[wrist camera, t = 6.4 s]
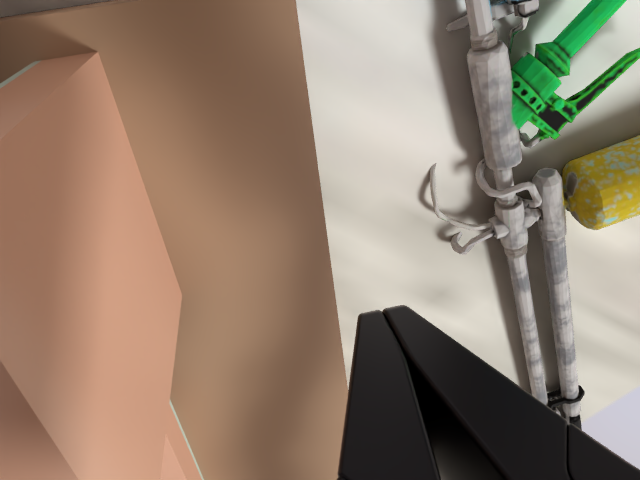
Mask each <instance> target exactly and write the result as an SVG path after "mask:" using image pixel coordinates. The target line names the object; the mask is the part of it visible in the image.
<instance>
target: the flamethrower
mask: <svg viewBox="0 0 640 480" xmlns="http://www.w3.org/2000/svg"><path fill="white" fill-rule="evenodd" d="M625 2H626V0H592V1H591V2H590V3H589V4H588V5H587V6H586V7H585V8H584V9H583V10H582V11H581V12H580V13H579V14H578V15H577V16H576V17H575V19H574V20H573V21H572V22H571V23H570V24H569V25H568V26H567V27H566V28H565V29H564V30H563V31H562V32H561V33H560V34H559V35H558V36H557V38H556V39H555V40H554V41H553V42H548V43H541V44H536V47H535V57H534V56H532V55H531V54H529V53H528V52H526V53H525V54H524V55H523V56H522V57H521V59H520V60H519V61H518V62H517V63H516V64H515V65H514V66H513V67H512V68H511V67H510V61H509V54H508V48H507V46H506V45H505V43H504V42H503V41H499V40H498V37H497V30H496V28H494V26H493V20H496V19H499V18H502V17H504V16H507V15H509V14H512V13H515V16H518V17H521V18H522V20H521V23H520V25H518V26H516V27H515V28H513V29H511V31H510V33H509V50H510V53H511V48H512V43H513V37H514V35H515V34H517V33H518V32H519V31H522V30H524V29H525V28H526V26H527V23H528V19H529V16H531V15H533V14H535V13H536V11H538V9H539V0H504V1H501V2H499V3H496V4H492V5H490V0H465V3H466V9H467V15H465V16H463V17H461V18H459V19H457V20H455V21H453V22H451V23H449V24H447V29H446V30H448V31H449V32H450V31H453V30H457V29H460V28H463V27H467V26H470V32H471V36H470V41H471V47H472V48H471V49H470V50H469V52H468V54H467V63H468V69H469V75H470V80H471V86H472V91H473V96H474V102H475V107H476V112H477V118H478V123H479V128H480V134H481V139H482V144H483V150H484V155H485V158H484V159H483V160H481V161H480V162H479V163H478V166H477V170H476V174H475V177H476V180H477V183H478V185H479V186H480V188H481V189H482V190H483V191H484V192H485V193H486V194H487V195H488V196H492V197H497V198H496V199H497V200H496V202H495V203H494V206H495V213H494V215H493V216H495V215H496V216H495V217H493V218H490V219H489V220H488V221H489V223H485V224H480V225H474V224H466V223H462V222H459V221H456V220H453V219H451V218H449V217H447V216H446V215H444V214H443V213H442V212H441V211H440V210H439V206H438V200H437V193H436V182H435V166H436V163H435V164H434V165H433V166H432V167H431V169H430V187H431V196H432V201H433V206H434V211H435V213H436V215H437V216H438V218H440V219H443V220H445V221H447V222H449V223H451V224H453V225H455V226H457V227H460V228H464V229H469V230H482V229H486V228H490V230H488V231H486V232H484V233H482V234H480V235H478V236H476V237H475V238H473V239H471V240H470V241H469V242H468V243H467V244H466V245H465V246H464V247H461V246H460V245H459V244H458V241H459V239H460V238H461V236H462V233H461V232H459V233H457V234H455V235H454V236H453V238H452V240H451V246H452V248H453V250H454V251H456V252H458V253H459V254H467V253H468V252H469V251H470V250H471V249H472V247H473V246H474V245H475V244H477V243H479V242H481V241H483V240H486V239H488V238H490V237H492V236H495V237H496V238H497V239H499V238H500V240H501V244H502V245H503V246H504V251H505V254H506V255H507V259H508V264H509V269H510V275H511V280H512V286H513V292H514V298H515V303H516V309H517V314H518V320H519V325H520V330H521V335H522V341H523V346H524V352H525V358H526V364H527V369H528V375H529V380H530V386H531V391H532V396H534V397H535V398H537V399H538V400H539V401H541V402H542V403H544V404H545V405H546V406H548V407H549V408H551V409H552V410H553V411H555V412H556V413H558V414H559V415H560V416H561V414H560V412H559V411H558V409H557V408H556V406H559V405H563V411H564V412H565V417H566V420H567V422H568V424H573V425H575V426H576V427H578V428H579V429H580V430H582V429H581V420H580V414H579V413H580V411H581V408H580V400H581V399H582V397H583V396H584V390H583V389H582V387H581V386H580V385H578V376H577V365H576V354H575V346H574V332H573V322H572V312H571V301H570V288H569V281H568V271H567V258H566V246H565V235H566V216H565V209H567V211H570V212H571V214H572V216H573V217H574V218H575V219H576V220H577V221H578V222H579V223H580V224H582V225H583V226H585V227H586V228H589V229H593V230H598V229H601V228H604V227H606V226H609V225H612V224H615V223H618V222H621V221H623V220H626V219H629V218H632V217H635V216H638V215H640V135H639V136H636V137H633V138H631V139H628V140H625V141H622V142H620V143H617V144H614V145H612V146H609V147H606V148H603V149H601V150H598V151H595V152H593V153H590V154H587V155H585V156H582V157H579V158H577V159H574V160H571V161H569V162H568V163H567V164H566V165H565V167H564V168H563V172H562V178H561V176H560V174H559V173H558V171H557V170H556V169H551V168H543V169H540V170H538V172H537V173H536V175H535V176H534V178H533V180H532V183H531V182H529V181H528V182H524V183H520V184H517V185H514V180H513V173H512V167H515V166H517V165H518V164H519V163H521V161H522V153H521V145H520V141H522V143H523V145H524V146H525V147H529V148H532V147H533V146H534V145H536V144H537V143H539V142H540V141H541V140H543V139H545V138H549V136H550V137H551V138H553V139H554V140H555V139H556V138H557V137H559V136H560V134H559V133H558V132H559V131H560V130H561V129H562V128H563V127H564V126H565V124H566V123H567V122H570V123H572V122H573V120H574V118H575V117H576V115H578V114H579V113H580V112H581V111H582V110H583V109H584V108H586V107H587V106H588V105H589V104H590V103H591V102H592V101H593V100H594V99H595V98H597V97H598V96H599V95H600V94H601V93H602V92H603V91H604V90H605V89H606V88H607V87H608V86H609V85H610V84H612V83H613V82H614V81H615V80H616V79H617V78H618V77H619V76H620V75H621V74H622V73H624V72H625V71H626V70H627V69H628V68H629V67H630V66H631V65H632V64H634V63H635V62H636V61H637V60H638V59H639V58H640V48H638V49H636V50H634V51H631V52H629V53H627V54H626V55H624V56H623V57H622V58H621V59H620V60H618V61H617V62H616V63H615V64H614V65H612V66H611V67H610V68H609V69H608V70H606V71H605V72H604V73H603V74H602V75H600V76H599V77H598V78H597V79H596V80H594V81H593V82H592V83H591V84H590V85H588V86H587V87H586V88H585V89H583V90H582V91H580V92H578V93H576V94H575V95H573V96H571V97H569V98H568V99H566V100H564V99H562V98H561V97H559V96H558V95H556V94H555V93H554V91H555V90H556V89H557V88H558V87H559V86H560V85H561V81H560V80H559V79H558V78H557V77H561V76H567V75H569V74H570V58H571V57H572V56H573V55H574V54H575V53H576V52H577V51H578V50H579V49H580V48H581V47H582V46H583V45H584V44H585V43H586V42H587V41H588V40H589V39H590V38H591V37H592V36H593V35H594V34H595V33H596V32H597V31H598V30H599V28H600V27H601V26H602V25H603V24H604V23H605V22H606V21H607V20H608V19H609V18H610V17H611V16H612V15H613V14H614V13H615V12H616V11H617V10H618V9H619V8H620V7H621V6H622V5H623V4H624V3H625ZM527 120H528V121H530V122H531V123H532V124H534V125H535V126H537V127H538V128H539V130H538V133H537V135H535V136H534V137H533V138H532V139H530V138H529V137H528V135H527V134H526V133H519V129H520V128H521V127H522V126H523V124H524V123H525V122H526V121H527ZM487 166H488V167H489V168H490V169H493V172H494V177H495V182H496V188H497V190H494V189H492V188H490V187H489V185H488V183H487V181H486V180H485V177H484V169H485V168H486V167H487ZM525 189H526V190H528V191H529V193H530V195H531V197H532V199H533V200H529V199H522V198H521V197H519V196H517V195H516V193H517V192H520V191H523V190H525ZM536 221H537V222H538V231H539V235H540V237H541V238H542V245H543V253H544V261H545V269H546V277H547V285H548V293H549V301H550V309H551V317H552V325H553V332H554V340H555V348H556V356H557V363H558V371H559V381H560V388H559V389H558V390H556V391H553V392H550V393H547V392H546V386H545V380H544V373H543V367H542V360H541V353H540V346H539V340H538V334H537V327H536V321H535V314H534V308H533V301H532V295H531V288H530V282H529V275H528V269H527V262H526V254H527V250H528V249H527V243H528V232H527V228H529V227H531V226H532V225H533V224H534V223H535V222H536ZM559 396H560V397H561V398H556V397H559ZM551 398H552V399H554V401H550V399H551Z"/></svg>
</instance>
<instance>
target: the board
mask: <svg viewBox="0 0 640 480" xmlns="http://www.w3.org/2000/svg"><path fill="white" fill-rule="evenodd" d="M92 52H98V53H99V56H100V59H101V62H102V65H103V68H104V71H105V73H106V76H107V79H108V82H109V85H110V88H111V91H112V94H113V97H114V99H115V102H116V105H117V108H118V111H119V114H120V117H121V120H122V123H123V126H124V128H125V131H126V134H127V137H128V140H129V143H130V146H131V149H132V152H133V154H134V157H135V160H136V163H137V166H138V169H139V172H140V175H141V178H142V180H143V183H144V186H145V189H146V192H147V195H148V198H149V201H150V204H151V207H152V209H153V212H154V215H155V218H156V221H157V224H158V227H159V230H160V233H161V235H162V238H163V241H164V244H165V247H166V250H167V253H168V256H169V259H170V261H171V264H172V267H173V270H174V273H175V276H176V279H177V282H178V285H179V288H180V290H181V293H182V301H181V309H180V318H179V326H178V335H177V343H176V352H175V360H174V369H173V377H172V386H171V394H170V401H171V403H172V405H173V408H174V410H175V412H176V415H177V417H178V419H179V422H180V424H181V427H182V429H183V431H184V434H185V436H186V438H187V441H188V443H189V445H190V448H191V450H192V452H193V455H194V457H195V460H196V462H197V464H198V467H199V469H200V471H201V474H202V476H203V478H204V480H337V478H338V475H337V473H338V466H339V458H340V451H341V443H342V436H343V428H344V420H345V413H346V405H347V398H348V388H347V380H346V373H345V365H344V358H343V350H342V343H341V336H340V328H339V321H338V313H337V306H336V298H335V291H334V283H333V276H332V268H331V261H330V254H329V246H328V239H327V231H326V224H325V216H324V209H323V201H322V194H321V187H320V179H319V172H318V164H317V157H316V149H315V142H314V134H313V127H312V119H311V112H310V105H309V97H308V90H307V82H306V75H305V67H304V60H303V52H302V45H301V38H300V30H299V23H298V15H297V8H296V0H114V1H107V2H100V3H94V4H87V5H81V6H74V7H67V8H61V9H54V10H48V11H41V12H34V13H28V14H21V15H14V16H8V17H1V18H0V83H2V82H3V81H5V80H7V79H8V78H10V77H11V76H13V75H14V74H16V73H17V72H19V71H20V70H22V69H23V68H25V67H26V66H28V65H29V64H31V63H33V62H35V61H41V60H47V59H54V58H60V57H66V56H73V55H79V54H85V53H92Z"/></svg>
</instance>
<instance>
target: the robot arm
mask: <svg viewBox="0 0 640 480" xmlns="http://www.w3.org/2000/svg"><path fill="white" fill-rule="evenodd" d="M337 475H338V478H337V480H640V470H639V469H638V468H636V467H635V466H633V465H631V464H630V463H628V462H627V461H625V460H624V459H622V458H621V457H620V456H618V455H617V454H615V453H613V452H612V451H611V450H609V449H608V448H606V447H605V446H603V445H602V444H600V443H599V442H597V441H596V440H595V439H593V438H592V437H590V436H589V435H587V434H586V433H585V432H583V431H582V430H580V429H579V428H578V427H576V426H575V425H573V424H568V422H567V420H566V419H565V418H563V417H562V416H560V415H559V414H558V413H556V412H555V411H553V410H552V409H551V408H549V407H548V406H546V405H545V404H544V403H542V402H541V401H539V400H538V399H537V398H535V397H534V396H532V395H531V394H530V393H528V392H527V391H525V390H524V389H523V388H521V387H520V386H518V385H517V384H515V383H514V382H513V381H511V380H510V379H508V378H507V377H506V376H504V375H503V374H501V373H500V372H499V371H497V370H496V369H494V368H493V367H492V366H490V365H489V364H487V363H486V362H485V361H483V360H482V359H480V358H479V357H478V356H476V355H475V354H473V353H472V352H471V351H469V350H468V349H466V348H465V347H463V346H462V345H461V344H459V343H458V342H456V341H455V340H454V339H452V338H451V337H449V336H448V335H447V334H445V333H444V332H442V331H441V330H440V329H438V328H437V327H435V326H434V325H433V324H431V323H430V322H428V321H427V320H426V319H424V318H423V317H421V316H420V315H419V314H417V313H416V312H414V311H413V310H412V309H410V308H409V307H407V306H405V305H400V306H395V307H390V308H386V309H384V310H383V311H382V312H381V311H380V310H375V311H371V312H366V313H361V314H360V315H359V316H358V322H357V329H356V337H355V344H354V352H353V360H352V367H351V375H350V382H349V390H348V398H347V405H346V413H345V420H344V428H343V436H342V443H341V451H340V458H339V466H338V473H337Z"/></svg>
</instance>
